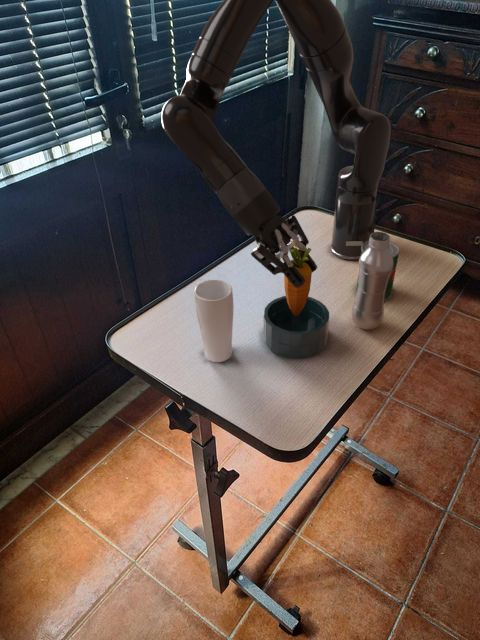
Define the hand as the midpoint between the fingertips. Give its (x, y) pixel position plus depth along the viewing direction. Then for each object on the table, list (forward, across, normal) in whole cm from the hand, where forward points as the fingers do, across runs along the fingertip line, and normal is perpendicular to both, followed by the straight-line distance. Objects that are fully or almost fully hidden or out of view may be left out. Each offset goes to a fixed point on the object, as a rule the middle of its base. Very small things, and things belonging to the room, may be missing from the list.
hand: (307, 277), depth 93 cm
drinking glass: (+2, -12, +19) cm, 23 cm away
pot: (+9, 0, +12) cm, 15 cm away
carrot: (+5, 0, +8) cm, 10 cm away
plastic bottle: (+17, +11, +4) cm, 21 cm away
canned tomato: (+15, +23, +6) cm, 28 cm away
